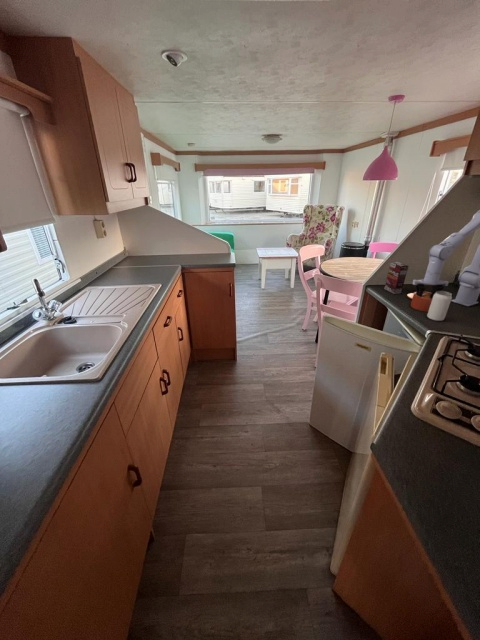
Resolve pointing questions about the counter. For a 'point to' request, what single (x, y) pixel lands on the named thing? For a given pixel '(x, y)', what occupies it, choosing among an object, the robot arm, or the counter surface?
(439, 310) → the can
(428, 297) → the bun
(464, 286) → the robot arm
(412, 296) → the lid
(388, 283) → the supplement box
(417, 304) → the pot
